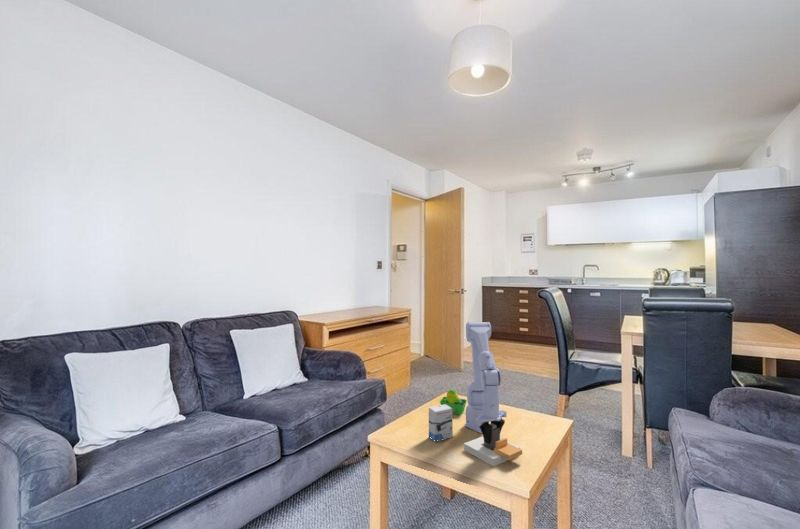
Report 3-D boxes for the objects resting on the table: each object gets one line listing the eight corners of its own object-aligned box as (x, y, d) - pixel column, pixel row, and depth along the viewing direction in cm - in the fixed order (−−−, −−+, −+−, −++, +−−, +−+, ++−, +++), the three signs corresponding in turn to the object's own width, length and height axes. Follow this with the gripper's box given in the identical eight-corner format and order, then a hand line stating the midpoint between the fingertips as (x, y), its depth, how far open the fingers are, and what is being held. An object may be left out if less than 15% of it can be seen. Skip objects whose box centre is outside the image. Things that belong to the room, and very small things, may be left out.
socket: (464, 450, 136) (463, 443, 136) (490, 440, 144) (490, 433, 144) (493, 466, 125) (493, 459, 125) (520, 454, 133) (520, 447, 133)
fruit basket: (467, 410, 175) (466, 386, 175) (462, 417, 167) (462, 392, 167) (444, 407, 180) (443, 383, 180) (438, 413, 172) (437, 389, 172)
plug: (484, 446, 135) (483, 424, 135) (491, 443, 137) (491, 421, 137) (492, 450, 131) (492, 428, 132) (500, 447, 134) (499, 425, 134)
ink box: (435, 442, 143) (434, 411, 143) (428, 437, 147) (427, 407, 147) (453, 437, 147) (452, 407, 147) (446, 432, 151) (445, 403, 151)
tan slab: (494, 452, 129) (494, 442, 129) (506, 446, 133) (506, 437, 133) (509, 460, 124) (509, 449, 124) (522, 454, 127) (522, 444, 128)
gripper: (485, 410, 127) (486, 450, 127) (512, 401, 135) (513, 439, 135) (470, 404, 133) (471, 443, 133) (497, 396, 141) (498, 432, 141)
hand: (491, 440), depth 134 cm, fingers closed on plug, 4 cm apart
